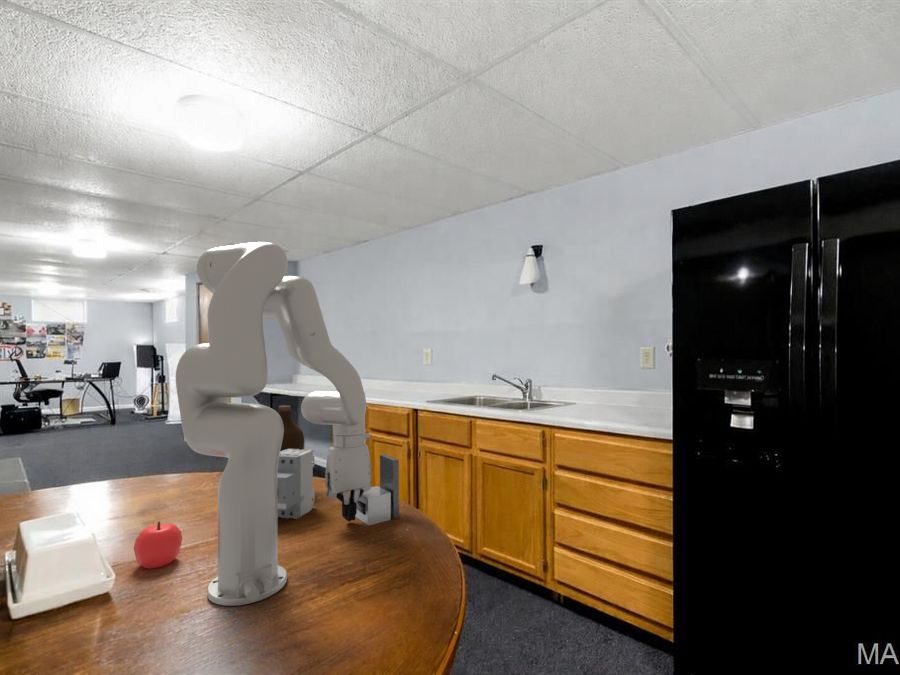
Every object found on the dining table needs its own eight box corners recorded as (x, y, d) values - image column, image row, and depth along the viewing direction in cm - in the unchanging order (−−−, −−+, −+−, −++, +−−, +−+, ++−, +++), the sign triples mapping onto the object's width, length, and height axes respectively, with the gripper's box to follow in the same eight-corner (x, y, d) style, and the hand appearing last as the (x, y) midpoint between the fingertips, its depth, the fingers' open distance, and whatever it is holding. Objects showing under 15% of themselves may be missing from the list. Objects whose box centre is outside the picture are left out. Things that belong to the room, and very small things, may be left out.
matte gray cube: (390, 519, 109) (390, 492, 110) (367, 525, 106) (367, 497, 106) (377, 511, 115) (376, 485, 115) (355, 516, 112) (354, 490, 112)
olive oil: (305, 497, 127) (305, 407, 127) (264, 502, 123) (264, 409, 123) (302, 486, 136) (302, 402, 137) (264, 491, 132) (264, 404, 133)
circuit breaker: (253, 526, 106) (253, 461, 106) (288, 505, 120) (288, 448, 120) (281, 529, 104) (281, 463, 105) (314, 507, 118) (314, 449, 118)
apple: (133, 560, 89) (134, 519, 89) (180, 550, 94) (181, 511, 94) (133, 577, 83) (133, 533, 83) (183, 565, 87) (184, 523, 87)
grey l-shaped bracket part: (399, 517, 111) (398, 459, 111) (365, 526, 106) (364, 465, 106) (385, 509, 116) (385, 454, 117) (352, 517, 111) (352, 459, 112)
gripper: (370, 434, 115) (371, 508, 114) (312, 442, 106) (312, 521, 106) (384, 439, 109) (385, 516, 108) (324, 447, 100) (324, 532, 100)
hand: (349, 519), depth 107 cm, fingers closed
